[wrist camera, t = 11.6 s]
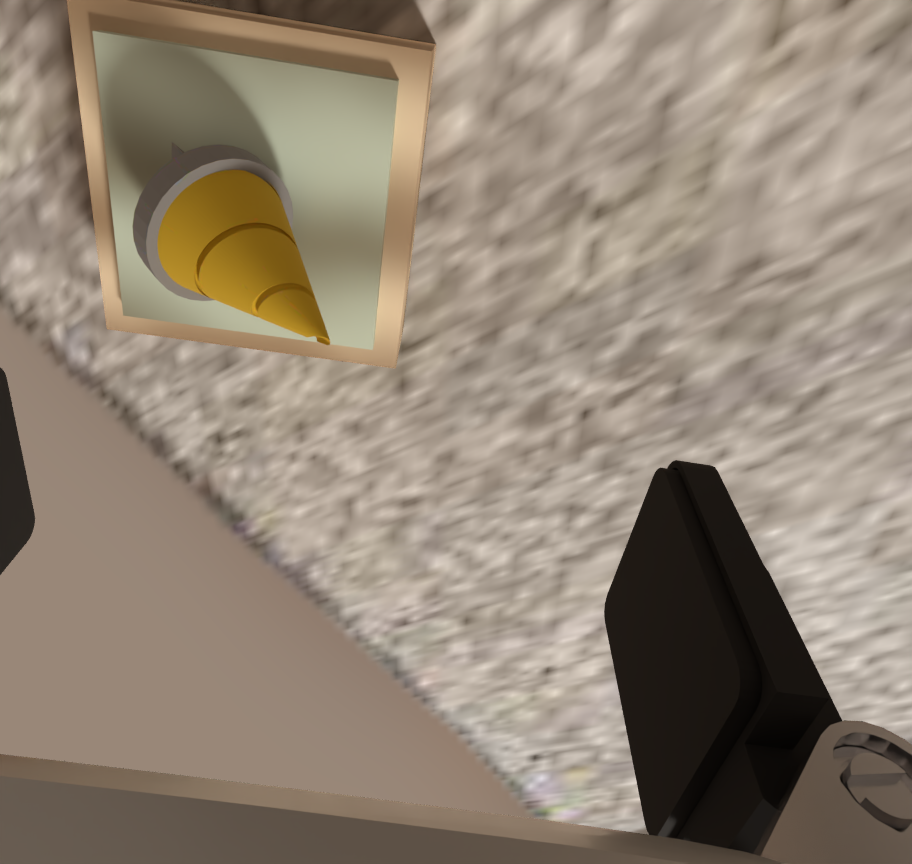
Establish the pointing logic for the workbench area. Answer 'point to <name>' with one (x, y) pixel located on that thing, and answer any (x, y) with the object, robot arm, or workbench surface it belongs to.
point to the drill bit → (226, 237)
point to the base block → (274, 142)
